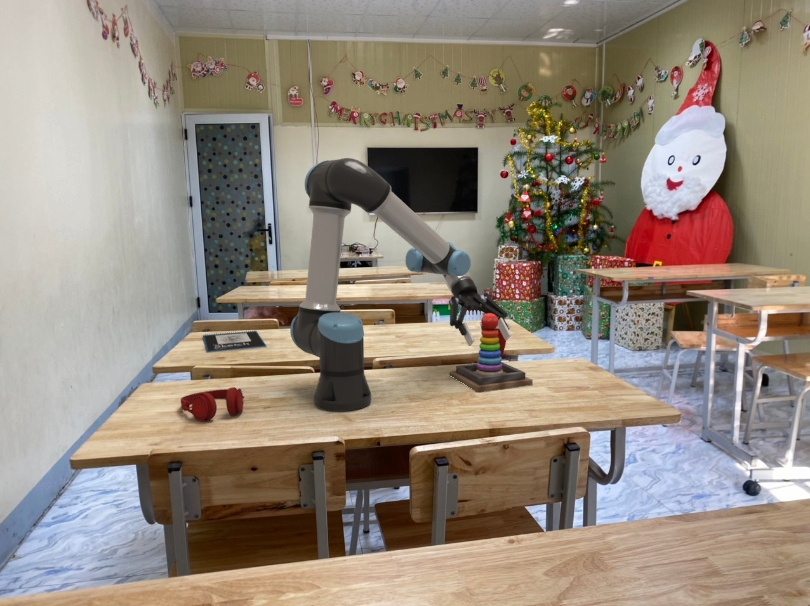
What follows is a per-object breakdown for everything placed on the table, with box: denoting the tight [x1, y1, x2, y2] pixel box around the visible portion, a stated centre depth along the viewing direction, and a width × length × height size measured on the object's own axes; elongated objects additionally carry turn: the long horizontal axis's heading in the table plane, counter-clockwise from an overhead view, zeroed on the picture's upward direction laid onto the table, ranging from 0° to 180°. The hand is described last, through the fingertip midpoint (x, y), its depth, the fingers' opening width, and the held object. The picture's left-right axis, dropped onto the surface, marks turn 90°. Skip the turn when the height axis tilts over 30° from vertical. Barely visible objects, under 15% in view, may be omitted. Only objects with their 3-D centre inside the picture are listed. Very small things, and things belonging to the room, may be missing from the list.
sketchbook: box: [202, 329, 267, 354], centre depth 233 cm, size 22×30×2 cm
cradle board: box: [448, 361, 534, 393], centre depth 177 cm, size 18×18×4 cm
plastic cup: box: [479, 321, 512, 359], centre depth 204 cm, size 11×11×12 cm
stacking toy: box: [476, 313, 503, 376], centre depth 175 cm, size 8×8×19 cm
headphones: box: [180, 386, 245, 422], centre depth 153 cm, size 15×7×20 cm
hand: (490, 340), depth 175 cm, fingers open, 13 cm apart
